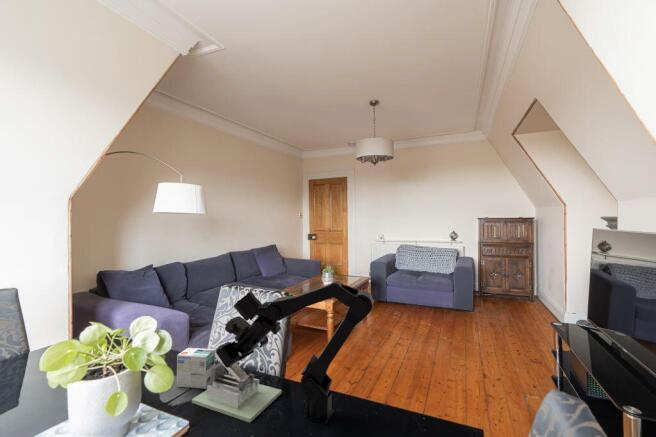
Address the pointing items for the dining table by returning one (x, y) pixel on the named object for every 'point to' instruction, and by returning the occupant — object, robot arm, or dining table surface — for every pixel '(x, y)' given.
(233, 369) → the steel strap
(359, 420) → the dining table surface
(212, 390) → the heat sink
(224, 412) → the pale green board
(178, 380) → the light bulb box
